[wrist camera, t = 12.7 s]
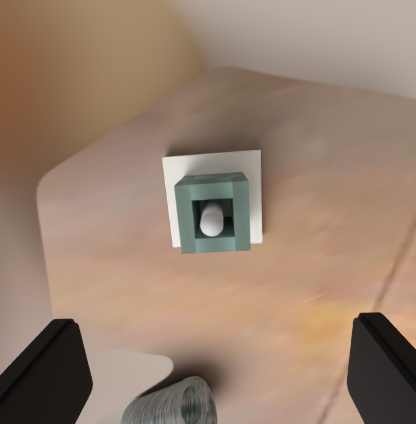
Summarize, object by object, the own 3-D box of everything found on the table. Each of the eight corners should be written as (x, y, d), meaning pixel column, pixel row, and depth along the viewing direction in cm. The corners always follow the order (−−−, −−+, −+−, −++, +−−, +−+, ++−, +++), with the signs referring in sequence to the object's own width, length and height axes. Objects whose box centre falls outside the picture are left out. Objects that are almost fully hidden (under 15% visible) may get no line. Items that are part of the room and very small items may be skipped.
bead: (242, 171, 25) (248, 180, 20) (244, 227, 27) (250, 250, 21) (184, 175, 26) (174, 185, 20) (189, 229, 27) (181, 253, 22)
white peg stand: (258, 149, 26) (280, 154, 17) (260, 237, 29) (279, 285, 19) (165, 156, 27) (135, 165, 17) (175, 242, 30) (154, 290, 20)
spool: (198, 367, 30) (189, 488, 24) (230, 382, 36) (230, 482, 30) (115, 372, 36) (89, 472, 29) (155, 384, 42) (141, 469, 35)
